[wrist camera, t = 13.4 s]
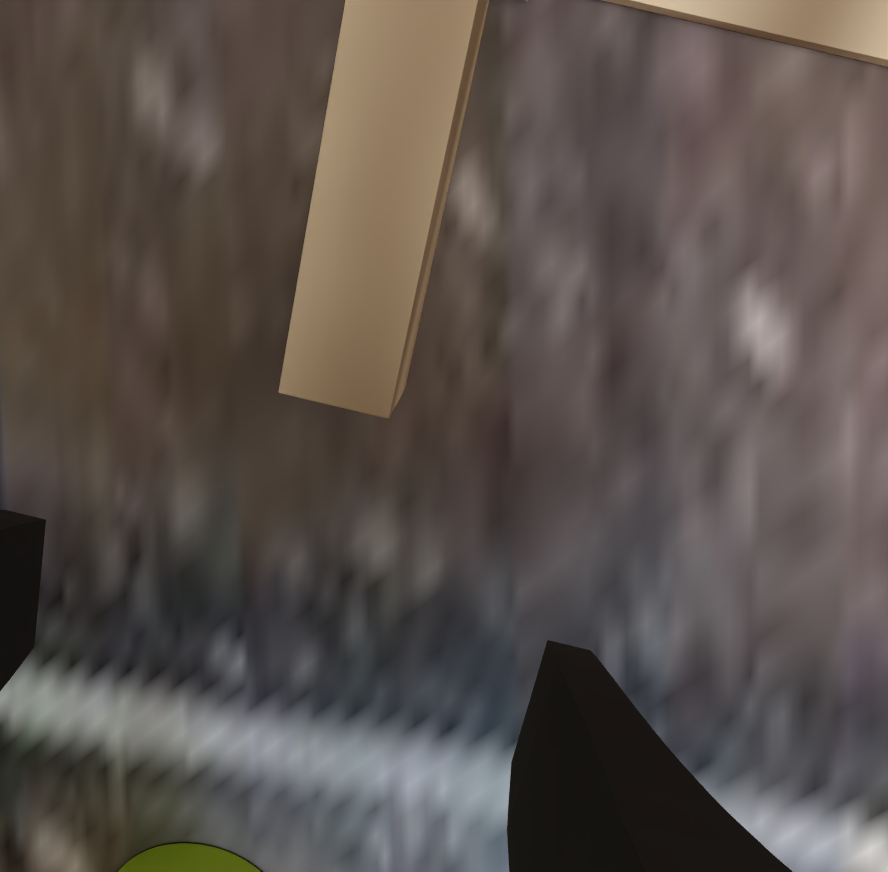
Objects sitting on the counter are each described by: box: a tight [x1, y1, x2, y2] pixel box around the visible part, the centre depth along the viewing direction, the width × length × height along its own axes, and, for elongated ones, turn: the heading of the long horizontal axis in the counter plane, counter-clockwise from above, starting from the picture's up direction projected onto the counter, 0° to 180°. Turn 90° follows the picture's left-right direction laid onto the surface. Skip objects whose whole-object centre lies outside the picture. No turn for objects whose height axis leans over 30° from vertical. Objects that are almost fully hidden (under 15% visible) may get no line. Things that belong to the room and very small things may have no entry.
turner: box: [278, 0, 527, 419], centre depth 16 cm, size 4×14×3 cm, turn 167°
